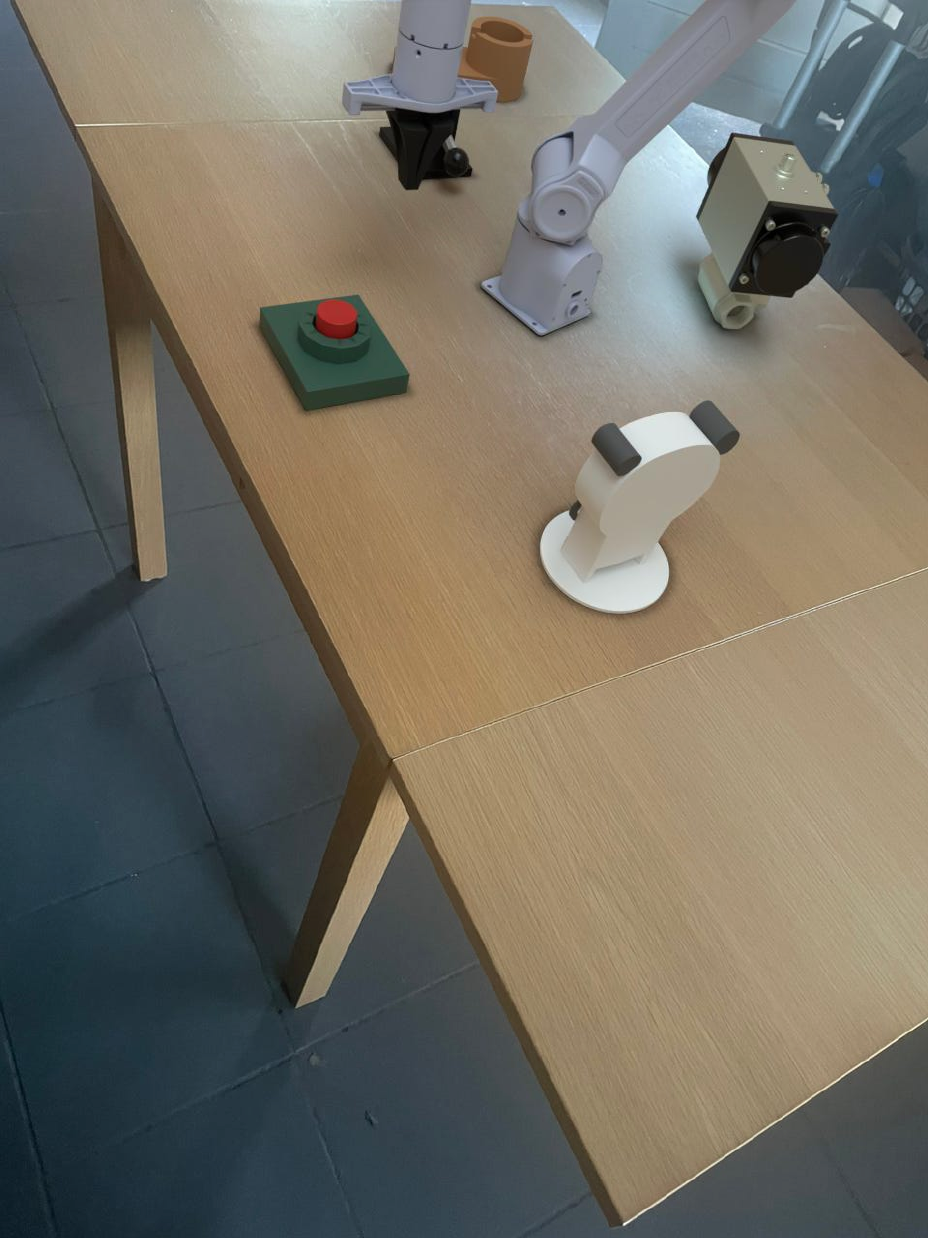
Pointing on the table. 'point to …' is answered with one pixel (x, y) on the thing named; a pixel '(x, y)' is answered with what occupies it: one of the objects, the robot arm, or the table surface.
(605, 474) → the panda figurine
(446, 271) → the table surface
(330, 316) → the button
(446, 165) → the lever
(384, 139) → the bracket
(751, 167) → the ball valve
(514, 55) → the bracket
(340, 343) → the button box
